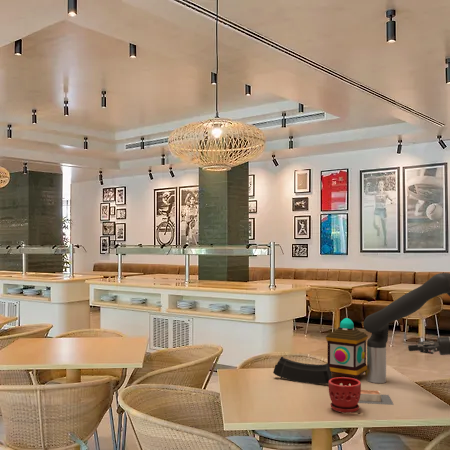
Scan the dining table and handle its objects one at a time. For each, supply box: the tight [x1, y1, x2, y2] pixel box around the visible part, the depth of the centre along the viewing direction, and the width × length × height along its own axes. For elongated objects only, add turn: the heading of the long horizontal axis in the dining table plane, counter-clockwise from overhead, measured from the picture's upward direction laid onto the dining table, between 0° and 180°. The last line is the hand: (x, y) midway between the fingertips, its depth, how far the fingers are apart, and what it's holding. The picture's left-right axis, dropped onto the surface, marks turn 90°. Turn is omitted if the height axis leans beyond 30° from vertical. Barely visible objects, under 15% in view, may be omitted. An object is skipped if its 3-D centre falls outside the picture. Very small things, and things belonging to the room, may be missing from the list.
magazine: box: [272, 356, 333, 385], centre depth 269 cm, size 17×3×30 cm
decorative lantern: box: [325, 317, 369, 380], centre depth 282 cm, size 20×20×30 cm
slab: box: [359, 389, 382, 402], centre depth 239 cm, size 6×3×18 cm
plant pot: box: [328, 376, 362, 414], centre depth 225 cm, size 13×13×12 cm
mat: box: [358, 394, 394, 406], centre depth 240 cm, size 15×22×1 cm
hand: (408, 348), depth 238 cm, fingers closed
